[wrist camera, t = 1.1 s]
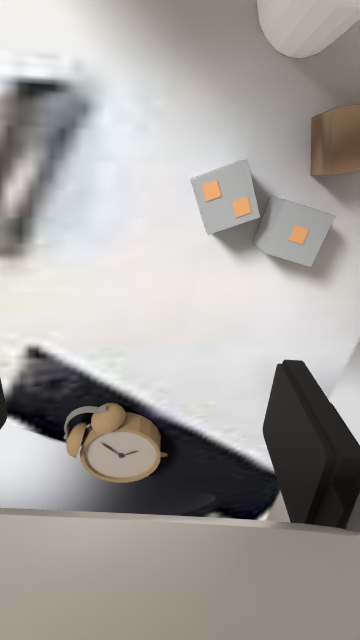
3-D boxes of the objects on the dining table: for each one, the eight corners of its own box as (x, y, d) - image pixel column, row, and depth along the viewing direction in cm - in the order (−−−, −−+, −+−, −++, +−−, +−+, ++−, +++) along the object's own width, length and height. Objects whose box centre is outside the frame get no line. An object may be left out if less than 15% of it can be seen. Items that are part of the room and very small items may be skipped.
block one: (270, 195, 33) (285, 199, 28) (314, 210, 34) (336, 216, 29) (252, 242, 35) (263, 253, 30) (294, 255, 36) (311, 267, 31)
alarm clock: (123, 493, 48) (38, 454, 41) (124, 463, 52) (47, 423, 45) (178, 458, 45) (97, 409, 38) (175, 429, 49) (101, 381, 42)
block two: (190, 178, 32) (191, 180, 28) (237, 161, 32) (247, 159, 27) (204, 226, 34) (208, 235, 30) (249, 211, 34) (260, 217, 29)
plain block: (311, 117, 30) (334, 108, 25) (365, 108, 30) (398, 96, 25) (310, 175, 32) (331, 175, 28) (360, 166, 32) (390, 165, 27)
